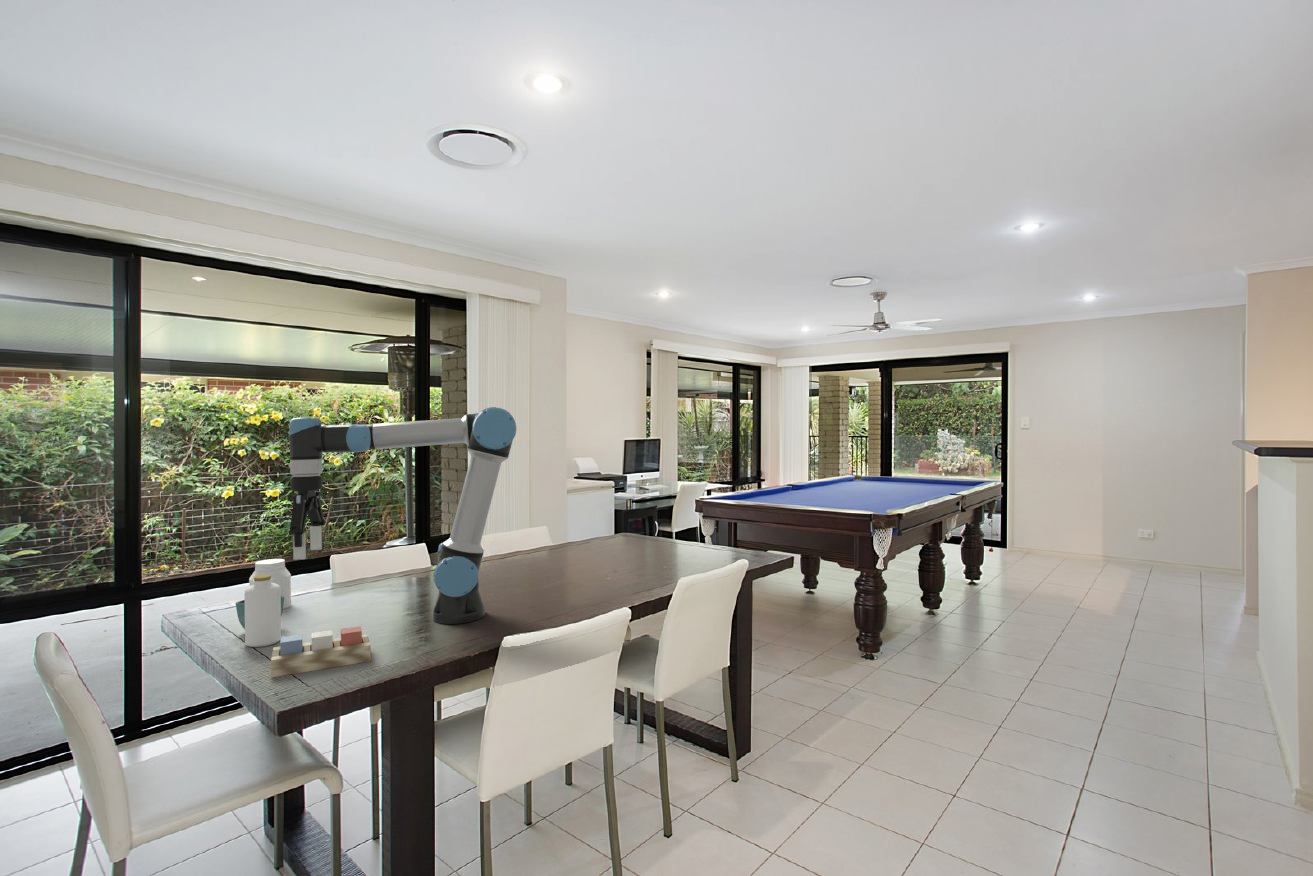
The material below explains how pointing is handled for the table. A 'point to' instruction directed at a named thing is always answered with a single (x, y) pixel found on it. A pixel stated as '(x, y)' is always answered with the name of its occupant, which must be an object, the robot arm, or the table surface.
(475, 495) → the robot arm
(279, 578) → the jar
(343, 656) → the wooden block holder
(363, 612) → the table surface
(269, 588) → the potion bottle
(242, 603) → the flower pot
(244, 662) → the table surface
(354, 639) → the red key
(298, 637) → the blue short block
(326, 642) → the white key
